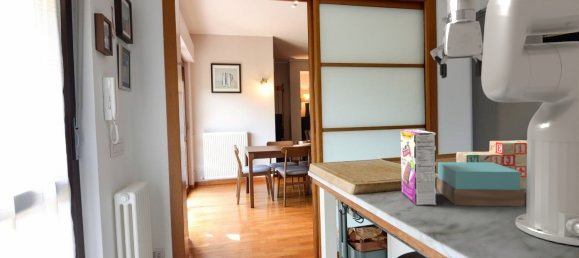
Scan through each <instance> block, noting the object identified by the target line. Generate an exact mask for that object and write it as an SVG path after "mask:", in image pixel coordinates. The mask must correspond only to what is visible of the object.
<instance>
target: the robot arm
mask: <svg viewBox="0 0 579 258" xmlns="http://www.w3.org/2000/svg"><path fill="white" fill-rule="evenodd" d="M476 1H477V0H446V16H442V18H441V22H442V23H443V22H444V23H446V24H445V25H444V30H443V34H442V35H443V36H442V43H441V45H439V46H437V47H436V48H434V49H432V50H430V52H429V54H430V56H431V57H432V59H433V61H434V62H436V64H437V65H438V66H439V76H441V79H446V78H447V77H448V64H447V63H446V62H447V61H448V60H451V59H468V58H469V59H470V58H473V59H474V61H475V62H476V63H475V72H474V73H475V74H474V75H475V77H476V78H479V77H481V78H480V79H481V80H480V81H481V87H482V91H483V93H484V95H485V96H486V98H487V99H489V100H491V101H492V102H497V103H525V102H526V103H528V102H529V103H530V102H531V103H533V102H535V103H536V102H537V103H538V102H539V103H541V105H540V107H539V108H538V109H537V110H536V112H535V113H534V115H533V116H532V117H531V119H530V120H529V123H528V126H527V131H526V141H527V189H526V197H525V198H526V199H525V201H526V202H525V205H526V206H525V208H526V209H525V211H526V213H524V214H523V213H522V214H520V215H518V216H516V217H515V226H516V227H517V228H518V229H519V230H521V231H523V232H524V233H526V234H528V235H531V236H534V237H536V238H540V239H542V240H546V241H551V242H554V243H559V244H565V245H569V246H570V245H571V246H576V247H577V246H578V247H579V41H577V40H576V41H573V40H572V41H561V42H560V41H559V42H558V41H557V42H542V43H527V44H526V38H527V36H541V35H558V34H569V33H578V32H579V0H488V3H487V5H486V9H485V17H484V26H483V27H484V29H483V30H484V32H483V35H482V29H481V25H480V21H478V20H477V19H476V17H477V16H476V15H477V14H476V13H477V12H476V8H477V6H476V4H477V3H476ZM476 20H477V21H476ZM439 51H441V56H442V57H440V56H439V55H438V52H439Z"/></svg>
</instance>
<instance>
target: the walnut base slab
mask: <svg viewBox="0 0 579 258" xmlns="http://www.w3.org/2000/svg"><path fill="white" fill-rule="evenodd" d="M436 191H438V192H439V193H440V194H441V195H442V196H444V197H445V199H447V200H449V201H450V203H452V204H453V205H454V206H455V205H456V206H488V207H489V206H492V207H493V206H495V207H526V206H525V205H526V202H525V201H526V199H525V198H526V196H525V195H526V190H525V189H520V190H470V189H454V188H453V187H451V186H450V185H449V184H447V183H446V182H444V181H443V180H441V179H440V178H438V176H436Z"/></svg>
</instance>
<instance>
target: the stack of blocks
mask: <svg viewBox="0 0 579 258" xmlns="http://www.w3.org/2000/svg"><path fill="white" fill-rule="evenodd" d="M455 154H456V155H455V159H456V161H455V162H493V163H496V164H499V165H501V166H504V167H507V168H510V169H513V170H516V171H519V172H520V189H523V190H525V189H526V190H527V139H526V140H524V139H523V140H522V139H520V140H519V139H516V140H515V139H513V140H490V141H489V151H457V152H456V153H455Z"/></svg>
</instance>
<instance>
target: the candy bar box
mask: <svg viewBox="0 0 579 258" xmlns="http://www.w3.org/2000/svg"><path fill="white" fill-rule="evenodd" d="M399 132H400V133H399V135H400V136H399V138H400V167H401V170H400V171H401V173H400V174H401V175H400V180H401V183H400V185H401V194H402V195H404V197H406V198H407V199H408V200H410V202H412V203H413V204H414V205H416V206H419V207H420V206H437V203H438V202H437V138H436V137H437V133H436V132H433V131H427V130H421V129H402V130H399Z"/></svg>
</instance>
